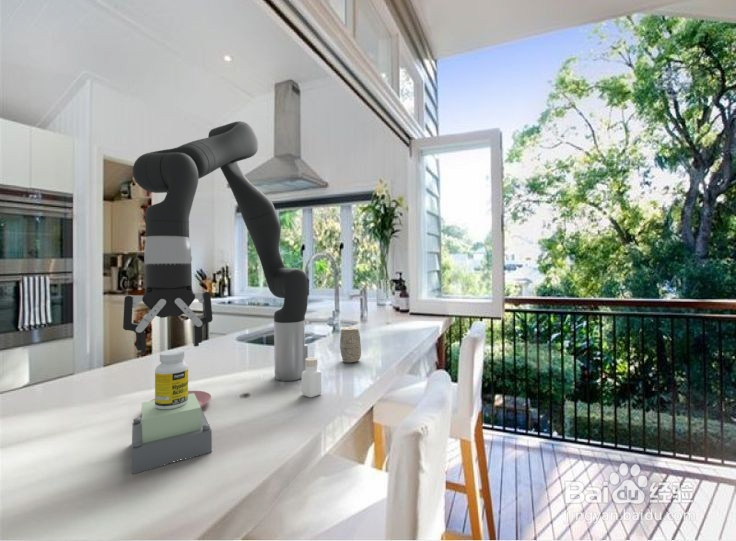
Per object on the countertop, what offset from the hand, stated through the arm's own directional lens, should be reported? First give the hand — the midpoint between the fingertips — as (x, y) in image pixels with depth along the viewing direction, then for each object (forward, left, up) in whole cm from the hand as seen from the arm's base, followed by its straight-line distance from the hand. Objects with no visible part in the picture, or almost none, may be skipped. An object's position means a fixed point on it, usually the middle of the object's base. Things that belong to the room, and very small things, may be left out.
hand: (170, 349), depth 65 cm
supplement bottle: (0, 0, -11) cm, 11 cm away
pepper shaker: (-33, -10, -19) cm, 39 cm away
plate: (-3, -20, -19) cm, 28 cm away
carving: (-58, -32, -19) cm, 69 cm away
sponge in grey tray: (0, 0, -19) cm, 19 cm away
